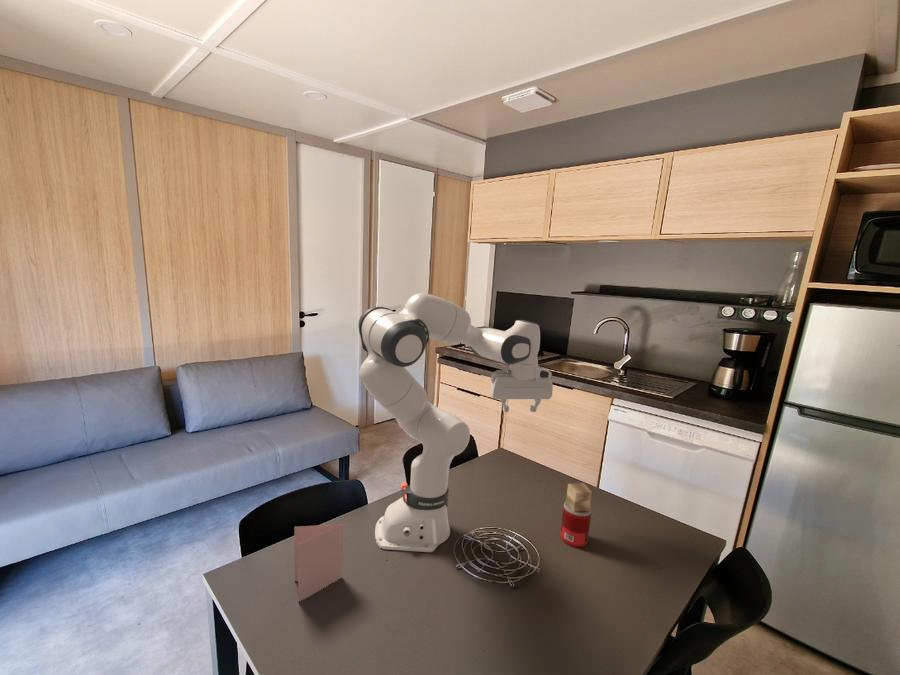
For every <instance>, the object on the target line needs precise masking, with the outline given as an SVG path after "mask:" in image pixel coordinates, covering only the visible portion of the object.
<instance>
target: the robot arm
mask: <svg viewBox="0 0 900 675" xmlns="http://www.w3.org/2000/svg"><path fill="white" fill-rule="evenodd" d="M471 320H472V319H471V316H470V314H469V312H468V311H467V310H465V309H464V308H463V307H461V306H460V305H458V304H457V303H455V302H452V301H451V300H449V299H445V298H443V297H440V296H436V295H434V294H430V293H424V292H419V293H414V294H413V295H411V296H410V297H409V298H408V299H407V301H406V302H405V305H404V307H403V309H402V310H401V311H400V312H398V313H397V312H396V311H393V310H392V309H391V308H387V307H384V306H373V307H370V308H368V309H366V310H365V311H364V312H363V313H361V316H359V319H358V332H359V333H358V334H359V337H360V340H361V344H362V349H363V350H364V351H366V352H367V353H368V354H367V357H366V358H365V359H364V361H363V362H362V363H361V365H360V367H359V372H358V376H359V379H360V382H361V383H362V385H363V386H364V387H365V389H366V390H367V392H368V393H369V394H370V395H371V397H372V398H373V399H374V400H375V401H376V402H377V403H378V404H379V405H380V406H381V407H382V408H384V409H385V410H386V411H387V412H388V414H390V415H391V416H392V417H393V418H394V419H395V420H396V421H397V424H398V426H399V427H400V429H402V430H403V431H404V433H406V434H407V436H409V437H410V438H412V439H414V440H416V441H418V442H420V443H421V444H422V448H423V450H422V453H420V454H419V455H417V456H416V457H415V458H414V459H413V460H412V462H411V464H410V484H409V485H408V483H407V482H402V483H401V485H400V489H401V491H402V497H400V498H399V499H397V500H396V501H394V502H392V503H390V504H389V505H388V506H386V507H387V508H386V509H385V512H384V515H383V516H380V518H379V519H378V520H377V522H376V524H375V528H374V540H375V539H376V540H375V542H376V545H377V546H378V548H380V549H381V548H382V549H381V550H388V551H389V550H392V551H403V552H404V551H405V552H423V553H433V552H434V551H435V550H436V548H438V546H440V545H441V544H443V543H444V542H446V541H447V540H448V539H449V537H450V535H451V527H450V525H449V519H448V518H449V517H448V506H449V499H450V497H449V496H450V491H449V490H450V489H449V486H448V485H449V484H448V483H449V472H450V466H451V463H452V460H453V459H454V457H455V456H458V455H460V454H461V453H463V452H464V451H465V449H467V446H468V444H469V443H470V437H471V432H470V428H469V425H467V423H466V422H465V421H463V420H462V419H460V417H458V416H457V415H455V414H453V413H451V412H448V411H446V410H444V409H441V408H440V407H437V406H436V405H435V404H433V403H431V402H430V401H429V400H428V394H427V391H426V389H425V388H424V387H423V386H422V385H421V384H420V383H419V382H418V381H417V380H416V378H415V377H414V376H413V375H412V374H411V372H409V371H408V370H407V369H406V368H405V367H410V366H412V365H414V364H415V363H417V362H418V360H420V359H421V357H422V355H423V354H424V352H425V350H426V348H427V344H428V343H429V341H430V339H431V340H434V341H436V342H439V343H442V344H446V345H458V344H459V345H460V344H462V345H465V346H467V347H468V348H469V349H470V351H471V352H473V354H474V355H476V357H479V358H485V359H488V360H491V361H494V362H498V363H502V364H504V365H505V364H506V365H509V367H508V368H509V369H503V370H502V369H496V370H495V371H493V372H492V373H491V378H490V381H491V385H490V388H489V394H490V396H491V397H492V399H494V400H500V403H501V405H502V412H503V413H508V412H509V410H510V407H509V406H508V405H507V404H506V403H507V400H534V402H533V404H532V405H531V404H530V409H529V411H530V412H532V413H537V408H538V406H539V405H540V403H541V400H550V399H551V398H552V397H553V388H554V387H553V386H554V385H553V381H552V379H551V378H552V376H553V373H552V371H550V370H549V369H547V368H546V367H543V366H540V365H539V359H538V354H539V351H540V346H541V330H540V325H539V324H538V323H537V322H534V321H529V320H524V319H518V320H517V319H516V320H515V322H514V325H512V326H511V327H510V328H508V329H507V330H501V329H496V328H493V327H490V326H474V325H472V321H471Z"/></svg>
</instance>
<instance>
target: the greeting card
mask: <svg viewBox="0 0 900 675" xmlns="http://www.w3.org/2000/svg"><path fill="white" fill-rule="evenodd" d="M293 529H294V538H293V539H294V582H295V581H296V580H298V582H297V590H298V591H297V592H298V593H297V595H298V596H297V599H298V601H297V603H298V602H299V601H300V602H302V601H303V599H304V600H306V599H307V598H306V597H308V596H309V597H311V596H313V595H315V594H317V593H318V592H320V591H322V590H323V588H324V587H325V588H327V587H329V586H330V585H329V584H331V583H333V582H334V583H336V582H338V581H339V580H338V579H340V578H342V579H343V563H344V562H343V557H344V523H340V524H338V523H337V524H324V525H323V524H322V525H321V524H320V525H307V526H306V525H305V526H303V525H302V526H294V528H293ZM337 580H338V581H337ZM340 580H341V579H340ZM335 581H336V582H335ZM334 583H333V584H334ZM328 585H329V586H328ZM331 585H332V584H331ZM326 586H327V587H326ZM325 588H324V589H325ZM321 589H322V590H321ZM319 590H320V591H319ZM317 591H318V592H317ZM316 592H317V593H316ZM314 593H315V594H314ZM312 594H313V595H312ZM310 595H311V596H310ZM309 597H308V598H309ZM305 598H306V599H305ZM301 600H302V601H301ZM300 602H299V603H300Z"/></svg>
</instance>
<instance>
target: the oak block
mask: <svg viewBox="0 0 900 675" xmlns="http://www.w3.org/2000/svg"><path fill="white" fill-rule="evenodd" d="M592 494H593V492H592V490H591V489H590V488H589V487H588V486H587V485H586V484H585V483H584V482H581V483H580V482H578V483H577V482H575V483H567V491H566V499H565V501H566V503H567V504H568V505H569V506H570V508H571V509H572V510H573V512H579V511H590V507H591V503H592Z"/></svg>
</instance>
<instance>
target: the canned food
mask: <svg viewBox="0 0 900 675" xmlns="http://www.w3.org/2000/svg"><path fill="white" fill-rule="evenodd" d="M592 511H593V510H592V507H591V506H590V511H579V512H573V510H572V509H571V508H570V506H569V505H568V504H567V503H566V500H565V501H564V503H563V508H562V517H561V526H560V527H561V528H560V539H561V540H562V541H563V542H564V543H565V544H567V545H568V546H570V547H574V548H583V547H585V546H586V545H587V544H588V541H589V534H590V528H591V527H590V526H591V519H592Z"/></svg>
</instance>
